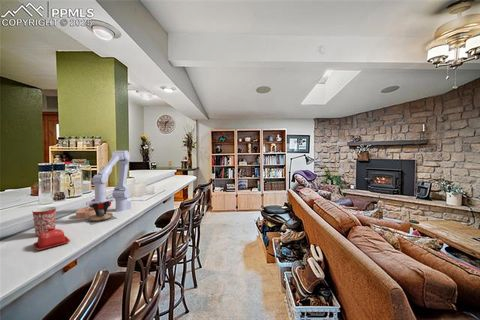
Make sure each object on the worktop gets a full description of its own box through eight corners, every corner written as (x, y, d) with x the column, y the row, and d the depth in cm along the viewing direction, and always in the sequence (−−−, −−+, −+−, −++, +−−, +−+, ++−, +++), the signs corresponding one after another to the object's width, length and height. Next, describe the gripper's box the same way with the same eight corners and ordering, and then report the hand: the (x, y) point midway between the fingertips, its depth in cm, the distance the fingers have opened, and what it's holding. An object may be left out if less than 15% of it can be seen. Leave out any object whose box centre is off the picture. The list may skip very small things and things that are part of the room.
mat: (109, 214, 137) (109, 214, 137) (117, 219, 128) (117, 218, 128) (84, 220, 126) (84, 219, 126) (91, 225, 117) (91, 224, 117)
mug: (52, 236, 103) (51, 210, 102) (29, 238, 100) (27, 212, 99) (63, 227, 115) (62, 204, 114) (42, 229, 111) (41, 205, 111)
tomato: (113, 206, 159) (113, 195, 158) (110, 210, 147) (109, 198, 147) (92, 207, 154) (92, 196, 153) (87, 212, 142) (87, 200, 142)
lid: (108, 214, 136) (108, 205, 136) (115, 218, 128) (115, 209, 128) (86, 219, 126) (86, 210, 126) (92, 224, 119) (92, 214, 118)
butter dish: (65, 237, 102) (64, 220, 102) (70, 244, 95) (70, 226, 95) (33, 245, 93) (32, 227, 93) (36, 253, 86) (35, 234, 86)
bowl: (94, 213, 141) (93, 206, 141) (99, 216, 134) (99, 209, 133) (74, 217, 132) (73, 210, 132) (78, 220, 125) (78, 213, 125)
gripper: (88, 196, 118) (89, 218, 119) (115, 192, 130) (116, 213, 130) (84, 194, 123) (85, 216, 123) (111, 191, 134) (112, 211, 135)
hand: (101, 214), depth 127 cm, fingers closed on lid, 4 cm apart
